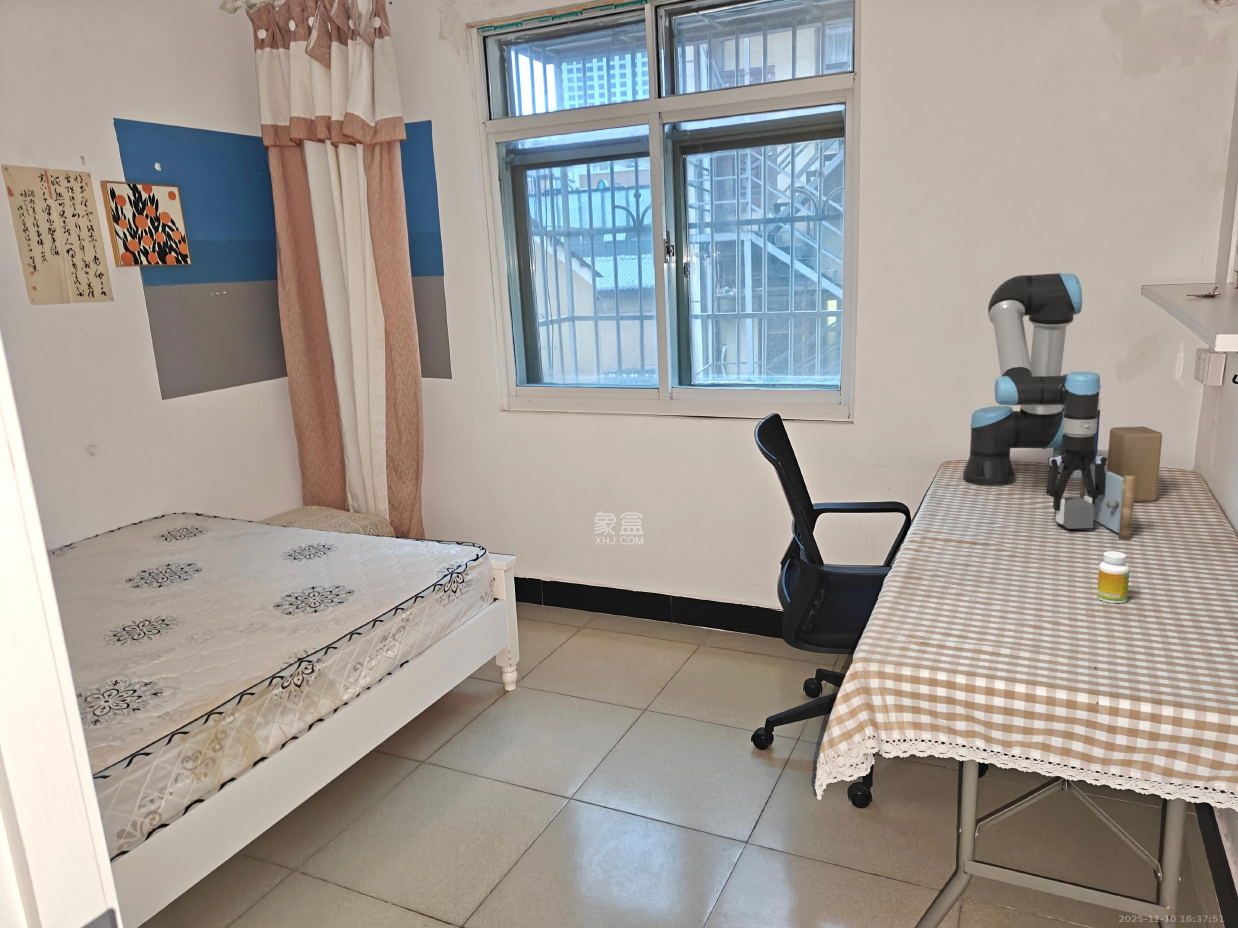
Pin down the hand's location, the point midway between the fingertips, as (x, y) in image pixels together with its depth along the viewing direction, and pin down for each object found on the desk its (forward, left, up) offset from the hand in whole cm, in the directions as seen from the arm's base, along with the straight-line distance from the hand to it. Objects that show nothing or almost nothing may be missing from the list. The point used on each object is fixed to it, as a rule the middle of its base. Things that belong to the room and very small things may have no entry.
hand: (1072, 521), depth 215 cm
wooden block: (-26, +28, -2) cm, 38 cm away
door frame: (-1, +8, -2) cm, 8 cm away
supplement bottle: (+47, -14, -2) cm, 49 cm away
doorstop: (0, 0, 0) cm, 1 cm away
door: (-1, +7, -1) cm, 7 cm away
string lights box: (-56, +26, -2) cm, 62 cm away
